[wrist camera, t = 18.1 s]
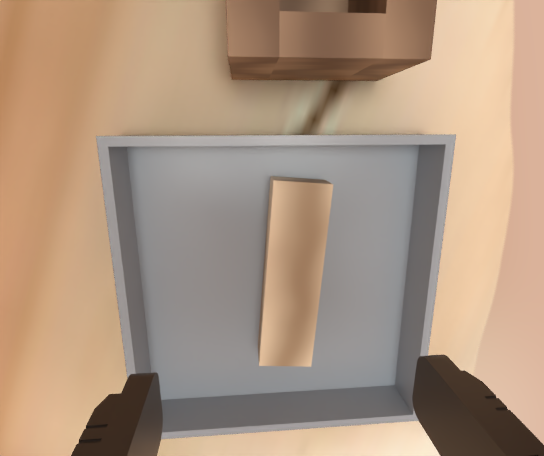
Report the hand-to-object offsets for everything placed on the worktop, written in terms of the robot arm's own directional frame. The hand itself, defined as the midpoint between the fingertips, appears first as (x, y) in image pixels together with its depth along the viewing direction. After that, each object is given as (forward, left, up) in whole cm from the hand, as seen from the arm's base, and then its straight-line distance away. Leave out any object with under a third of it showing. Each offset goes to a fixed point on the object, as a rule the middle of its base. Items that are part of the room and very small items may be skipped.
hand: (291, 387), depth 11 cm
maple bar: (+2, -3, -16) cm, 17 cm away
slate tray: (+1, -4, -17) cm, 17 cm away
